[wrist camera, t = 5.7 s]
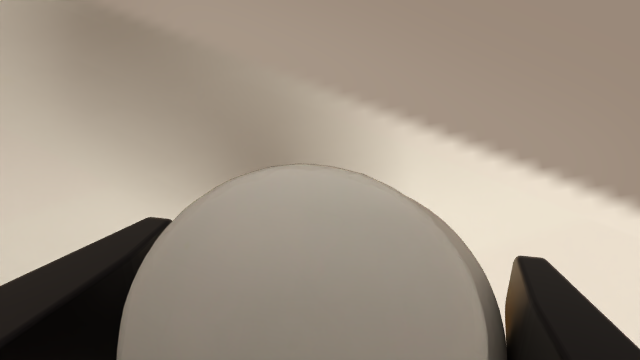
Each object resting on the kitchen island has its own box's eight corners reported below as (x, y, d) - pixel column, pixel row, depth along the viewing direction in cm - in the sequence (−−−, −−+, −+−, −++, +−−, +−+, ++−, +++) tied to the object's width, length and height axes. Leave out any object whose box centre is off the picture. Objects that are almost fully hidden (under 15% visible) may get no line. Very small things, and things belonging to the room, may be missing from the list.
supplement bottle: (375, 514, 14) (334, 809, 5) (213, 368, 16) (-49, 390, 6) (503, 332, 15) (669, 298, 6) (337, 209, 16) (260, 28, 7)
